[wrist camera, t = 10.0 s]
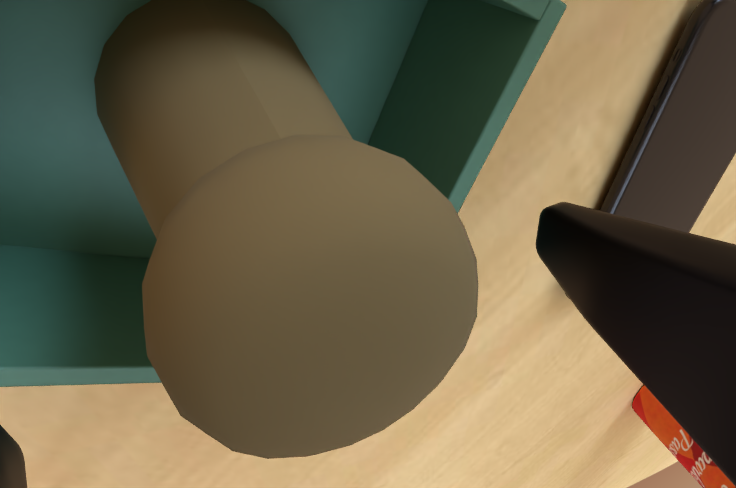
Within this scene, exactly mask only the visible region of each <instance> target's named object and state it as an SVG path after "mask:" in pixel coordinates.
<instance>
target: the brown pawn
mask: <svg viewBox="0 0 736 488" xmlns="http://www.w3.org/2000/svg"><path fill="white" fill-rule="evenodd" d="M94 84H95V95H96V107H97V115H98V117H99V119H100V122H101V124H102V126H103V128H104V130H105V133H106V135H107V137H108V139H109V141H110V144H111V146H112V148H113V150H114V152H115V154H116V156H117V158H118V160H119V162H120V164H121V166H122V168H123V171H124V173H125V175H126V177H127V179H128V181H129V183H130V185H131V187H132V189H133V191H134V193H135V195H136V197H137V200H138V202H139V204H140V206H141V208H142V210H143V212H144V214H145V216H146V218H147V220H148V222H149V224H150V227H151V229H152V231H153V233H154V235H155V237H156V239H157V241H156V244H155V247H154V249H153V252H152V255H151V257H150V260H149V263H148V266H147V270H146V273H145V276H144V280H143V283H142V294H143V316H144V332H145V341H146V350H147V357H148V359H149V360H150V362H151V364H152V366H153V368H154V369H155V371H156V373H157V375H158V377H159V378H160V380H161V382H162V384H163V386H164V387H165V389H166V391H167V393H168V394H169V396H170V398H171V400H172V401H173V403H174V405H175V407H176V408H177V410H178V412H179V414H180V415H181V416H182V417H183V418H185V419H186V420H188V421H189V422H191V423H192V424H193V425H195V426H196V427H198V428H199V429H201V430H202V431H203V432H205V433H206V434H208V435H209V436H211V437H212V438H214V439H215V440H217V441H218V442H220V443H221V444H223V445H224V446H226V447H227V448H229V449H230V450H232V451H235V452H240V453H244V454H249V455H253V456H258V457H263V458H267V459H269V458H287V457H305V456H311V455H316V454H319V453H323V452H327V451H331V450H334V449H338V448H342V447H346V446H349V445H352V444H354V443H356V442H358V441H360V440H363V439H365V438H367V437H369V436H371V435H373V434H375V433H378V432H380V431H382V430H384V429H385V428H387V427H388V426H390V425H391V424H392V423H394V422H395V421H397V420H398V419H400V418H401V417H403V416H404V415H406V414H407V413H409V412H410V411H411V410H413V409H414V408H415V407H416V406H417V405H418V404H419V403H420V402H421V401H422V400H423V399H424V398H425V397H426V396H427V395H428V394H429V393H430V392H431V391H432V390H434V389H435V388H436V387H437V386H438V384H439V383H440V382H441V381H442V380H443V379H444V377H445V376H446V374H447V373H448V371H449V370H450V368H451V367H452V366H453V364H454V363H455V361H456V360H457V358H458V357H459V356H460V354H461V353H462V351H463V350H464V348H465V346H466V343H467V340H468V338H469V335H470V333H471V330H472V328H473V325H474V322H475V320H476V317H477V300H478V275H477V261H476V257H475V254H474V251H473V249H472V246H471V243H470V241H469V238H468V235H467V233H466V230H465V228H464V225H463V223H462V222H461V220H460V218H459V216H458V214H457V212H456V210H455V208H454V207H453V205H452V203H451V202H450V201H449V200H448V199H447V198H446V197H445V196H444V195H443V194H442V193H441V192H440V191H439V190H438V189H437V188H436V187H435V186H434V185H432V184H431V183H430V182H429V181H428V180H427V179H426V178H425V177H424V176H423V175H422V174H421V173H420V172H419V171H417V170H416V169H415V168H414V167H413V166H412V165H411V164H409V163H408V162H407V161H406V160H405V159H403V158H401V157H398V156H396V155H393V154H390V153H388V152H385V151H382V150H380V149H377V148H374V147H372V146H369V145H367V144H364V143H361V142H358V141H356V140H353V139H352V137H351V135H350V134H349V132H348V130H347V129H346V127H345V125H344V124H343V122H342V120H341V119H340V117H339V115H338V114H337V112H336V110H335V109H334V107H333V105H332V104H331V102H330V100H329V99H328V97H327V95H326V94H325V92H324V90H323V89H322V87H321V85H320V84H319V82H318V80H317V79H316V77H315V75H314V74H313V72H312V70H311V69H310V67H309V65H308V64H307V62H306V60H305V59H304V57H303V55H302V54H301V52H300V50H299V49H298V47H297V45H296V44H295V42H294V40H293V39H292V37H291V35H290V34H289V33H288V32H287V31H286V30H285V29H284V28H283V27H282V26H281V25H280V24H279V23H278V22H277V21H276V20H275V19H274V18H273V17H272V16H271V15H270V14H269V13H268V12H267V11H266V10H265V9H263V8H261V7H259V6H257V5H255V4H253V3H251V2H249V1H247V0H151V1H149V2H148V3H146V4H144V5H143V6H141V7H140V8H138V9H136V10H135V11H133V12H131V13H130V14H128V15H126V17H125V18H124V19H123V21H122V22H121V23H120V25H119V26H118V27H117V29H116V30H115V31H114V32H113V34H112V35H111V36H110V38H109V39H108V40H107V42H106V43H105V44H104V47H103V50H102V54H101V57H100V61H99V64H98V68H97V71H96V74H95V78H94Z"/></svg>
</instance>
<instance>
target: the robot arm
mask: <svg viewBox="0 0 736 488" xmlns="http://www.w3.org/2000/svg"><path fill="white" fill-rule="evenodd" d="M536 249H537V253H538V255H539V257H540V258H541V260H542V261H543V262H544V264H545V265H546V267H547V268H548V269H549V271H550V272H551V273H552V275H553V276H554V277H555V279H556V280H557V282H558V283H559V284H560V286H561V287H562V288H563V290H564V291H565V293H566V294H567V295H568V297H569V298H570V299H571V301H572V302H573V304H574V305H575V306H576V308H577V309H578V310H579V312H580V313H581V314H582V315H583V317H584V318H585V319H586V320H587V322H588V323H589V324H590V325H591V326H592V328H593V329H594V330H595V331H596V332H597V333H598V334H599V335H600V337H601V338H602V339H603V340H604V341H605V342H606V343H607V344H608V345H609V347H610V348H611V349H612V350H613V351H614V352H615V353H616V354H617V355H618V357H619V358H620V359H621V360H622V361H623V362H624V363H625V364H626V365H627V367H628V368H629V369H630V370H631V371H632V372H633V373H634V374H635V375H636V377H637V378H638V379H639V380H640V381H641V382H642V383H643V384H644V385H645V387H646V388H647V389H648V390H649V391H650V392H651V393H652V394H653V395H654V397H655V398H656V399H657V400H658V401H659V402H660V403H661V404H662V405H663V407H664V408H665V409H666V410H667V411H668V412H669V413H670V414H671V415H672V417H673V418H674V419H675V420H676V421H677V422H678V423H679V424H680V425H681V427H682V428H683V429H684V430H685V431H686V432H687V433H688V434H689V435H690V437H691V438H692V439H693V440H694V441H695V442H696V443H697V444H698V445H699V447H700V448H701V449H702V450H703V451H704V452H705V453H706V454H707V455H708V457H709V458H710V459H711V460H712V461H713V462H714V463H715V464H716V465H717V467H718V468H719V469H720V470H721V471H722V472H723V473H724V474H725V475H726V477H727V478H728V479H729V480H730V481H731V482H732V483H733V484H734V486H735V487H736V245H735V244H731V243H727V242H723V241H719V240H715V239H711V238H707V237H703V236H699V235H695V234H691V233H687V232H683V231H679V230H675V229H671V228H667V227H663V226H659V225H655V224H651V223H647V222H643V221H639V220H635V219H631V218H627V217H623V216H619V215H615V214H611V213H607V212H603V211H599V210H595V209H591V208H587V207H583V206H579V205H575V204H571V203H566V202H561V203H557V204H555V205H552V206H549V207H546V208H545V209H543V210H542V212H541V214H540V218H539V225H538V231H537V238H536ZM0 488H27V481H26V471H25V461H24V456H23V453H22V450H21V448H20V446H19V445H18V444H17V442H16V441H15V440H14V439H13V438H12V437H11V436H10V435H9V434H8V433H7V432H6V431H5V429H4V428H3V427H2V426H1V425H0Z"/></svg>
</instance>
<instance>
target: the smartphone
mask: <svg viewBox="0 0 736 488" xmlns="http://www.w3.org/2000/svg"><path fill="white" fill-rule="evenodd" d="M735 153H736V0H703V1H702V2H701V3H700V4H699V5H698V6H697V7H696V8H695V10H694V11H693V13H692V15H691V16H690V18H689V20H688V22H687V24H686V26H685V29H684V31H683V33H682V35H681V37H680V39H679V41H678V44H677V46H676V48H675V50H674V52H673V54H672V57H671V59H670V61H669V63H668V65H667V67H666V69H665V72H664V74H663V76H662V78H661V80H660V82H659V84H658V87H657V89H656V91H655V93H654V95H653V97H652V100H651V102H650V104H649V106H648V108H647V110H646V112H645V115H644V117H643V119H642V121H641V123H640V125H639V127H638V130H637V132H636V134H635V136H634V138H633V140H632V143H631V145H630V147H629V149H628V151H627V153H626V155H625V158H624V160H623V162H622V164H621V166H620V168H619V171H618V173H617V175H616V177H615V179H614V181H613V183H612V186H611V188H610V190H609V192H608V194H607V196H606V198H605V201H604V203H603V205H602V207H601V209H600V211H603V212H607V213H611V214H615V215H619V216H623V217H627V218H631V219H635V220H639V221H643V222H647V223H651V224H655V225H659V226H663V227H667V228H671V229H675V230H679V231H683V232H687V233H689V232H690V230H691V228H692V227H693V225H694V223H695V222H696V220H697V218H698V216H699V215H700V213H701V211H702V210H703V208H704V206H705V205H706V203H707V201H708V199H709V198H710V196H711V194H712V193H713V191H714V189H715V187H716V186H717V184H718V182H719V181H720V179H721V177H722V176H723V174H724V172H725V170H726V169H727V167H728V165H729V164H730V162H731V160H732V158H733V157H734V155H735ZM565 294H566V293H565ZM566 296H567V297H568V295H567V294H566ZM568 298H569V297H568ZM569 299H570V298H569Z"/></svg>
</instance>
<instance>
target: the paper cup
mask: <svg viewBox="0 0 736 488" xmlns="http://www.w3.org/2000/svg"><path fill="white" fill-rule="evenodd" d="M632 408H633V409H634V411H635V412H636V413H637V415H638V416H639V417H640V418H641V419H642V420H643V422H644V423H645V424H646V425H647V426H648V427H649V428H650V430H651V431H652V432H653V433H654V434H655V435H656V436H657V437H658V438H659V440H660V441H661V442H662V443H663V444H664V445H665V446H666V447H667V448H668V450H669V451H670V452H671V453H672V454H673V455H674V456H675V457H676V458H677V460H678V461H679V462H680V463H681V464H682V465H683V466H684V467H685V468H686V469H687V471H688V472H689V473H690V474H691V475H692V476H693V477H694V478H695V479H696V481H697V482H698V483H699V484H700V485H701V486H702V487H703V488H736V487H735V486H734V484H733V483H732V482H731V481H730V480H729V479H728V478H727V477H726V475H725V474H724V473H723V472H722V471H721V470H720V469H719V468H718V467H717V465H716V464H715V463H714V462H713V461H712V460H711V459H710V458H709V457H708V455H707V454H706V453H705V452H704V451H703V450H702V449H701V448H700V447H699V445H698V444H697V443H696V442H695V441H694V440H693V439H692V438H691V437H690V435H689V434H688V433H687V432H686V431H685V430H684V429H683V428H682V427H681V425H680V424H679V423H678V422H677V421H676V420H675V419H674V418H673V417H672V415H671V414H670V413H669V412H668V411H667V410H666V409H665V408H664V407H663V405H662V404H661V403H660V402H659V401H658V400H657V399H656V398H655V397H654V395H653V394H652V393H651V392H650V391H649V390H648V389H647V388H646V387H645V385H644V386H643V387H642V388H641V389H640V391H639V392H638V393H637V395H636V396H635V398H634V400H633V403H632Z"/></svg>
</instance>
